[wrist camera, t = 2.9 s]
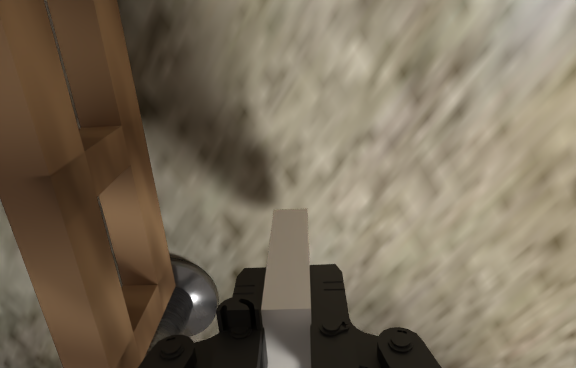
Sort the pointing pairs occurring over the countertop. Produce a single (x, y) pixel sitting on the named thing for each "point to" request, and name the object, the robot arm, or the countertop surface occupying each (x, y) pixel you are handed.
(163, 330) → the hinge post
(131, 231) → the gate
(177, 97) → the countertop surface
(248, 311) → the robot arm
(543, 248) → the countertop surface
